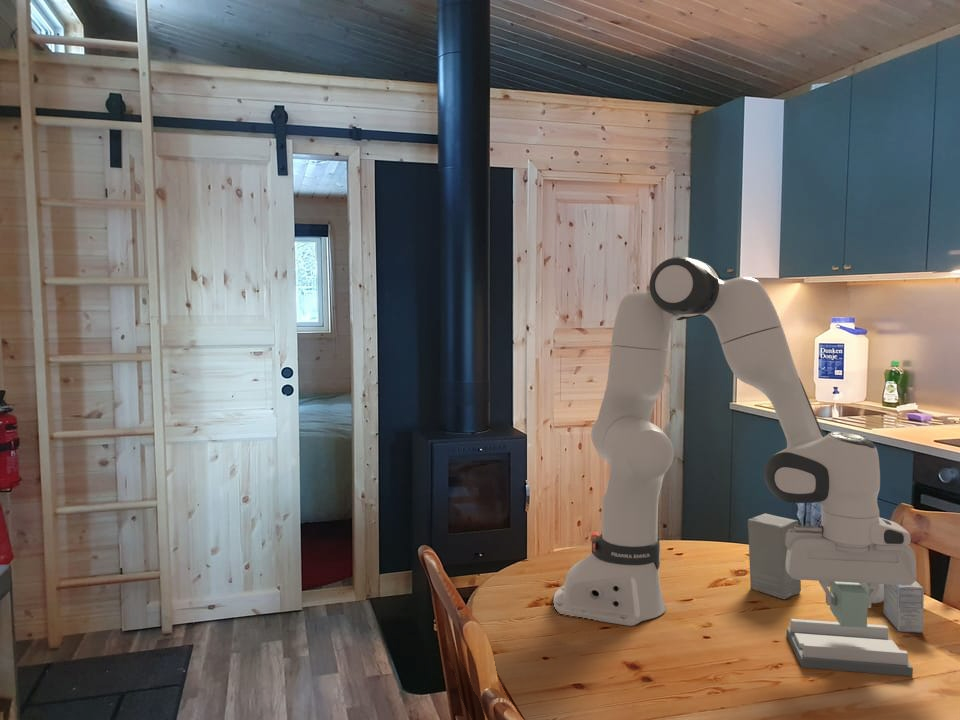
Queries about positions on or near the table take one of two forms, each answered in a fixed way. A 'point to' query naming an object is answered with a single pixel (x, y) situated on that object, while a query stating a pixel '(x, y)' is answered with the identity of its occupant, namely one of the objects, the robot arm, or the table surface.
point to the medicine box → (904, 606)
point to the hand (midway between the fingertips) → (848, 605)
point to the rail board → (847, 648)
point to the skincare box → (770, 556)
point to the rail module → (850, 604)
